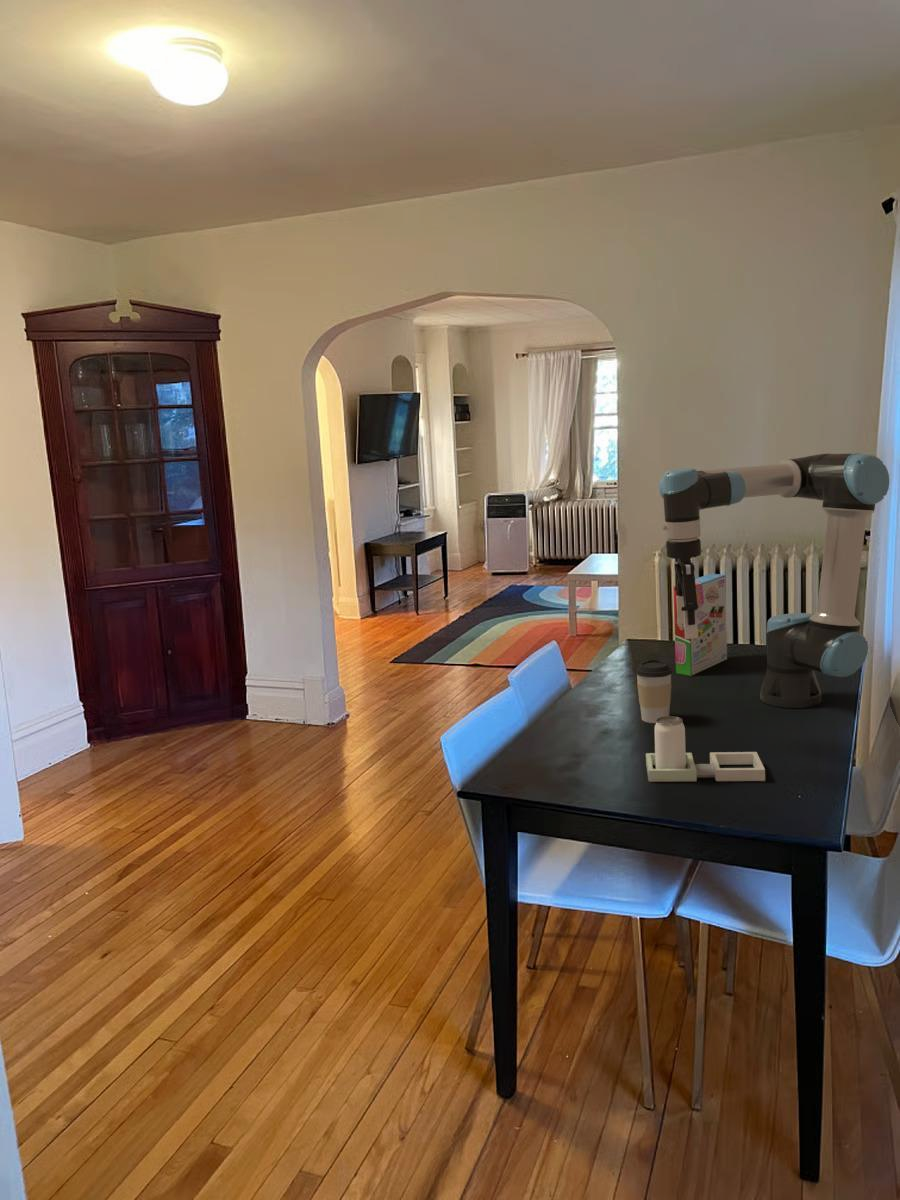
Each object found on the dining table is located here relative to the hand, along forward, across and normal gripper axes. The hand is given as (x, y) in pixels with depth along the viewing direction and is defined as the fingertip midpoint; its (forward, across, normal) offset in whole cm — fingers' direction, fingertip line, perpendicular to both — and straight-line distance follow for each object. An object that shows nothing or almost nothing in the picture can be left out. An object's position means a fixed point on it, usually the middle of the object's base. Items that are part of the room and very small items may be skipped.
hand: (687, 630), depth 201 cm
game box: (+30, -66, +11) cm, 73 cm away
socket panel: (+28, +15, 0) cm, 32 cm away
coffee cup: (+29, -20, -7) cm, 36 cm away
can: (+28, +15, -7) cm, 33 cm away
